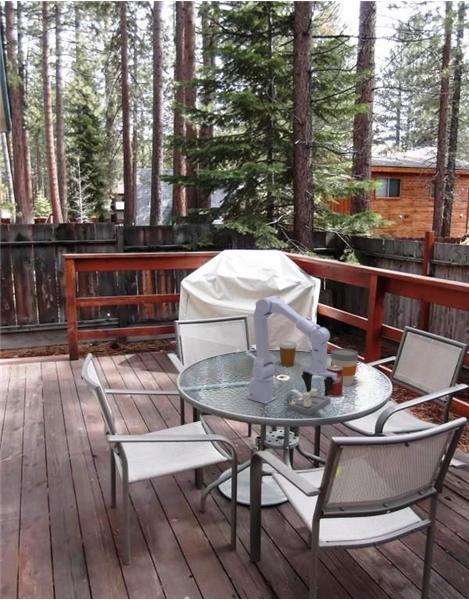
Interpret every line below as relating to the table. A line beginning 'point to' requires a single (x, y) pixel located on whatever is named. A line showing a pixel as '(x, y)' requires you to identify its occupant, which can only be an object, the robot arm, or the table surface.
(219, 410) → the table surface
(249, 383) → the robot arm
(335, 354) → the reusable coffee cup
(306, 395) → the switch
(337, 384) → the soda can
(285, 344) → the glass of beer
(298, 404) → the switch panel
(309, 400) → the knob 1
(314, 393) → the rocker switch
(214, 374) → the table surface
